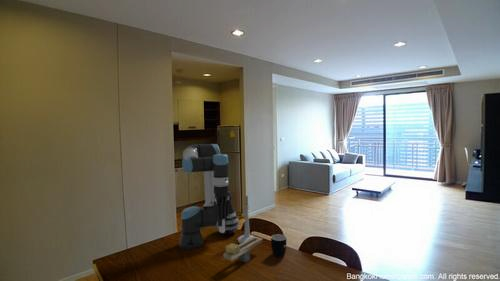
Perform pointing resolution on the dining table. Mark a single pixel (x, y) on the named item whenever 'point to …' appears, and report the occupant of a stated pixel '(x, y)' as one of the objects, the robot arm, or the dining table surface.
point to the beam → (244, 250)
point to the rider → (232, 248)
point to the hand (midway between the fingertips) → (222, 231)
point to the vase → (231, 220)
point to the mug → (278, 245)
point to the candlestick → (246, 224)
